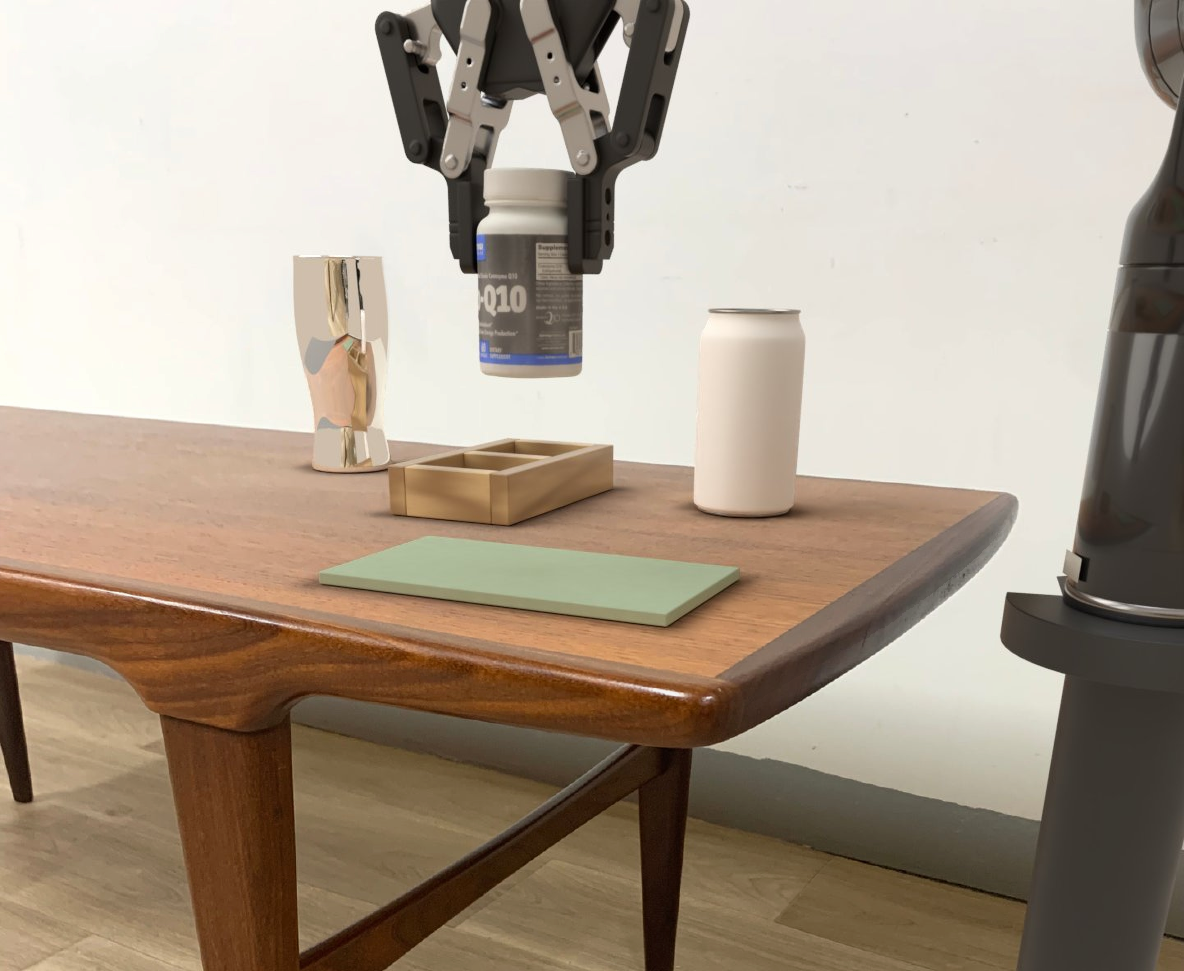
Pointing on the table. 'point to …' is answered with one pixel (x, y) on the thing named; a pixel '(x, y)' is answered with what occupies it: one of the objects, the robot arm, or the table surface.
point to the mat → (538, 579)
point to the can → (748, 411)
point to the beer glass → (344, 357)
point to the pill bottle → (527, 277)
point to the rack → (500, 480)
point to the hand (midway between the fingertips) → (530, 272)
